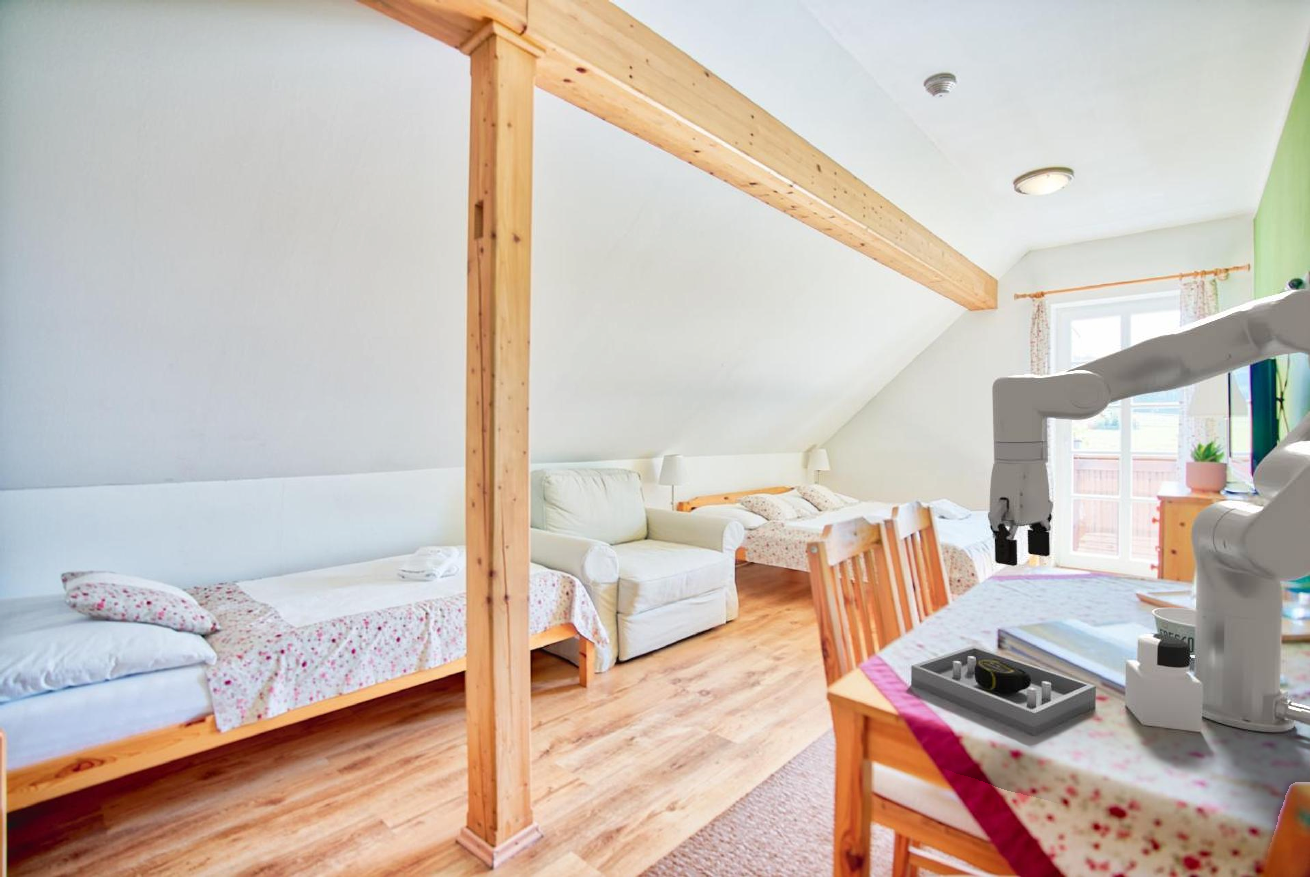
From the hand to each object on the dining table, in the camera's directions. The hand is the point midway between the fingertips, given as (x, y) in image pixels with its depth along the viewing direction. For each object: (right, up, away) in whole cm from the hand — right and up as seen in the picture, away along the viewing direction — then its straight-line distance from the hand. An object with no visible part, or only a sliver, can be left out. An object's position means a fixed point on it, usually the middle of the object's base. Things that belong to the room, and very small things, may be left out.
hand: (1022, 559), depth 104 cm
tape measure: (-4, -21, -1) cm, 21 cm away
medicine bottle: (+15, -22, -9) cm, 28 cm away
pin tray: (-4, -22, -1) cm, 22 cm away
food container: (+42, -21, +18) cm, 50 cm away
